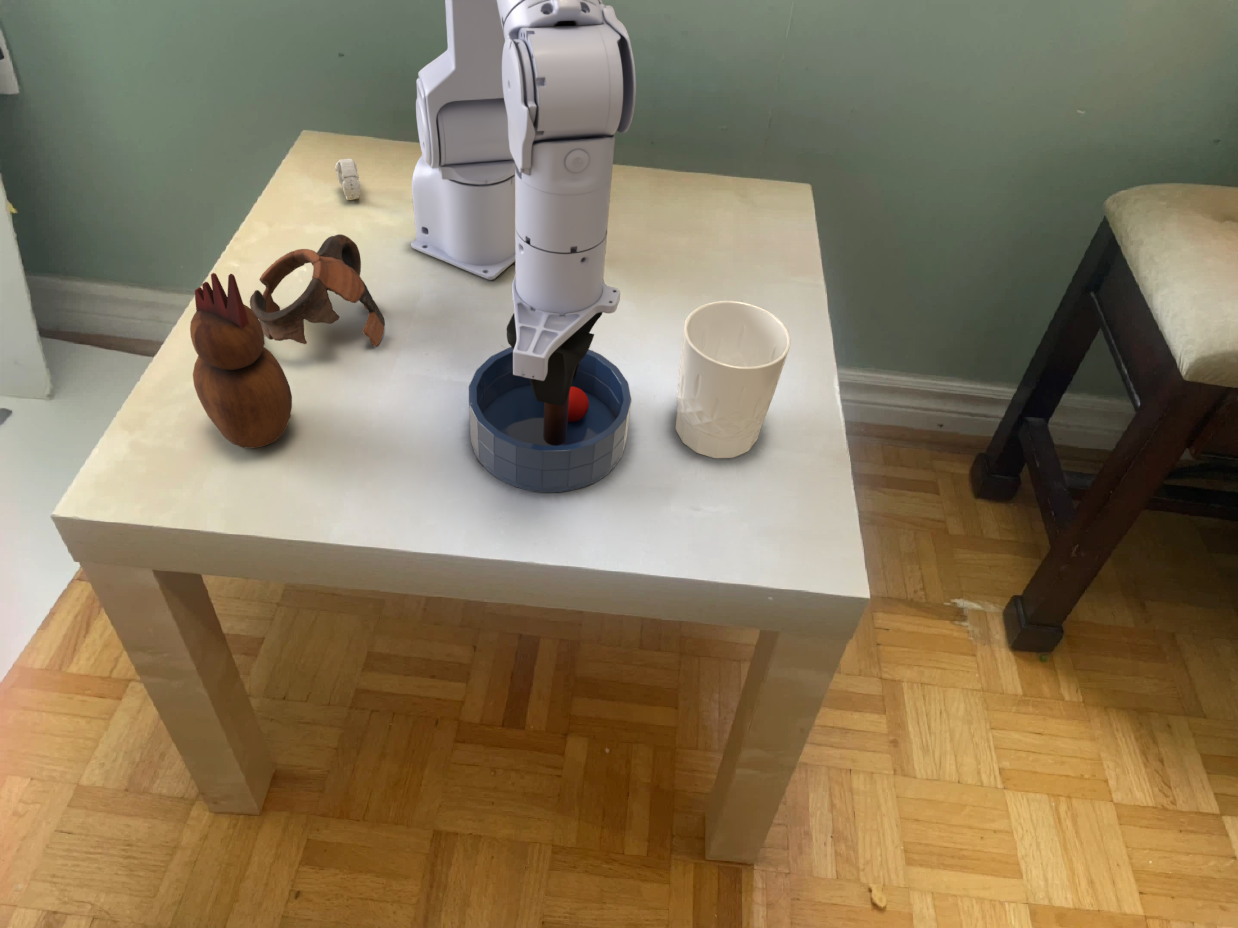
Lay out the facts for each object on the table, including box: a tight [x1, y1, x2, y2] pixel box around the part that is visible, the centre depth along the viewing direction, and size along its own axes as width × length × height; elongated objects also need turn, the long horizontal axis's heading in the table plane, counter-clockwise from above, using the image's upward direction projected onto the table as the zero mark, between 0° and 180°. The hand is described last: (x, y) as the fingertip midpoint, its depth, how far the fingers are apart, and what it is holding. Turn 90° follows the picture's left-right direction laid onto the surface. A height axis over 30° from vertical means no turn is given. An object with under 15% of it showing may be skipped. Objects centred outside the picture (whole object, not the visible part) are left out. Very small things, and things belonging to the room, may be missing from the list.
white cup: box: [675, 300, 792, 459], centre depth 71 cm, size 8×8×10 cm
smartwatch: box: [334, 158, 362, 201], centre depth 92 cm, size 4×2×4 cm, turn 20°
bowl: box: [468, 346, 632, 493], centre depth 71 cm, size 12×12×4 cm
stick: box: [543, 394, 569, 446], centre depth 67 cm, size 2×2×10 cm
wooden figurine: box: [189, 272, 293, 449], centre depth 65 cm, size 7×6×15 cm
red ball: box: [568, 386, 589, 422], centre depth 72 cm, size 3×3×3 cm
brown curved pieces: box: [249, 233, 386, 347], centre depth 78 cm, size 12×10×8 cm
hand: (554, 390), depth 67 cm, fingers closed on stick, 2 cm apart
